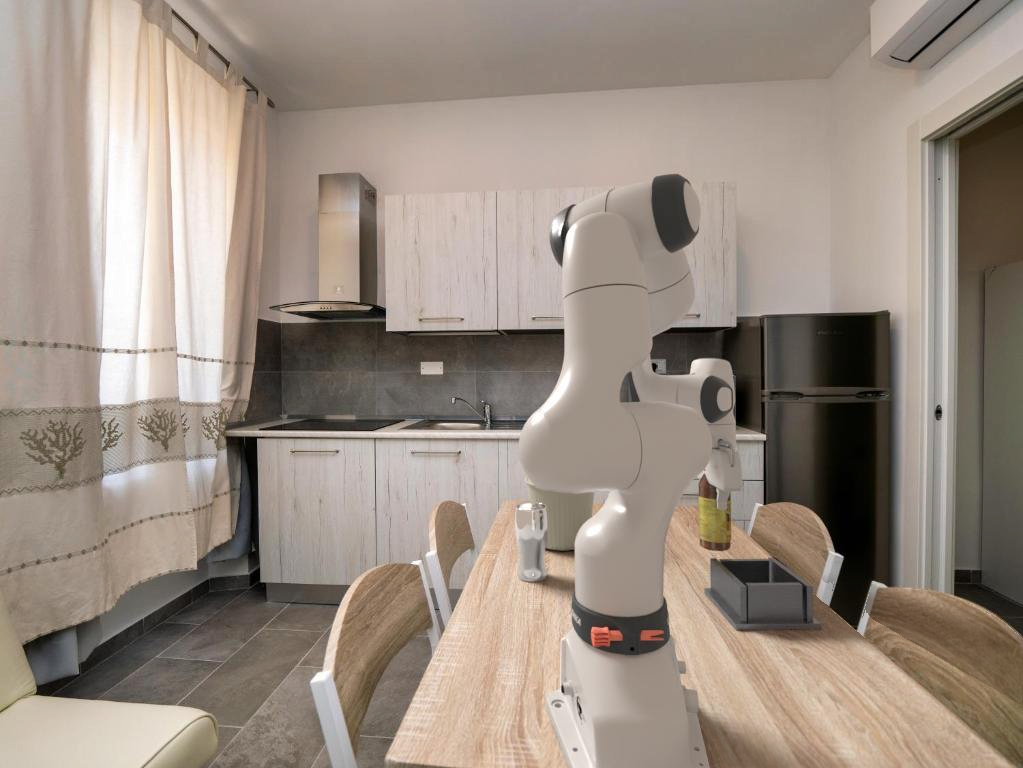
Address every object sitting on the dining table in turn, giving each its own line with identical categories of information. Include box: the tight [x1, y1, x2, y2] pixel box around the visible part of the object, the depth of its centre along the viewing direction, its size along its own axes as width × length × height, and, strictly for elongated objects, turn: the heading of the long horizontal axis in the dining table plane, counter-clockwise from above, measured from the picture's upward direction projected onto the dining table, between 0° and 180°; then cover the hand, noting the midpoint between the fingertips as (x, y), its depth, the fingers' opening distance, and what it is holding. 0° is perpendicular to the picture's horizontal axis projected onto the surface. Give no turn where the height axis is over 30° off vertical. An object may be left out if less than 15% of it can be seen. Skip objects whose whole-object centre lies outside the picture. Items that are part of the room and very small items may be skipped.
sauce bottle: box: [697, 469, 732, 552], centre depth 103 cm, size 6×6×20 cm
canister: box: [524, 476, 595, 552], centre depth 126 cm, size 18×18×21 cm
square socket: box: [703, 557, 822, 631], centre depth 90 cm, size 14×14×7 cm
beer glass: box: [514, 501, 548, 583], centre depth 106 cm, size 7×7×15 cm
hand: (714, 504), depth 103 cm, fingers closed on sauce bottle, 6 cm apart
